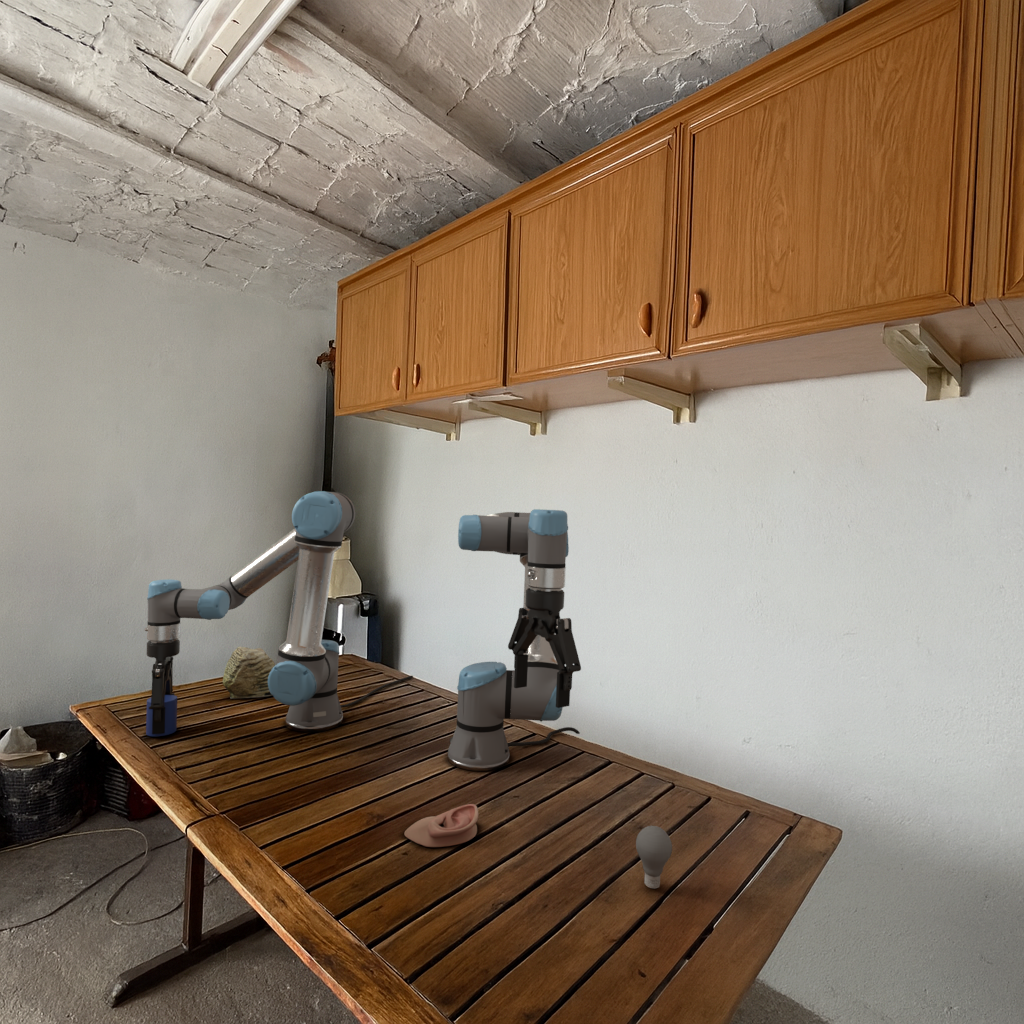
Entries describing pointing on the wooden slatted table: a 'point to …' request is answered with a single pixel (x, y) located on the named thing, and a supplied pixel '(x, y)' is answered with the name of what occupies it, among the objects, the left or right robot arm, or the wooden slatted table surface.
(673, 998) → the wooden slatted table surface
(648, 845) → the light bulb
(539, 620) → the right robot arm
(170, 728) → the canister
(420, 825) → the anatomical model
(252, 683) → the fossil
